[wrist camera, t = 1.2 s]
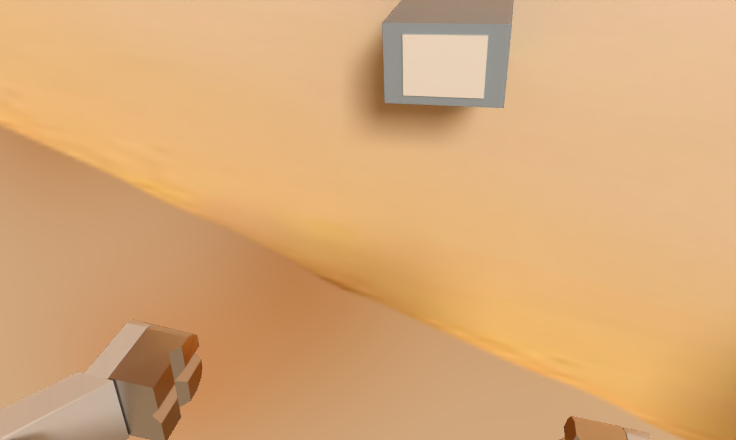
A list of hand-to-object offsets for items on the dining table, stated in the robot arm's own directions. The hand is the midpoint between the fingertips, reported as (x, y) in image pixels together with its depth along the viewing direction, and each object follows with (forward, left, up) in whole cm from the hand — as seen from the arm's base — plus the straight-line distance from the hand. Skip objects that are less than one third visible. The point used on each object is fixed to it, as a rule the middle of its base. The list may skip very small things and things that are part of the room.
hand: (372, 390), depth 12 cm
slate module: (+1, -1, -28) cm, 28 cm away
